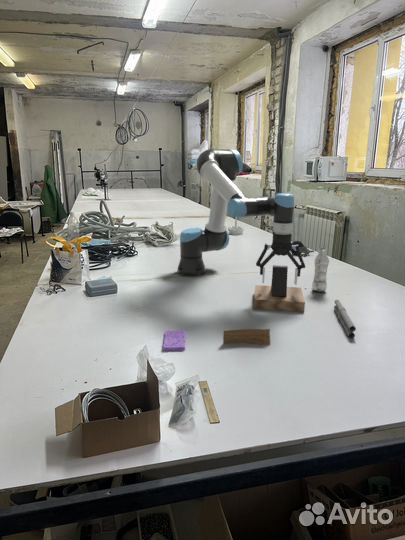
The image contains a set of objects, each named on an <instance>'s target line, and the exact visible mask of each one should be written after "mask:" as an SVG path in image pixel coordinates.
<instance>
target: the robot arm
mask: <svg viewBox="0 0 405 540" xmlns="http://www.w3.org/2000/svg"><path fill="white" fill-rule="evenodd" d="M195 166H196V171H197V173H198V174H199V176H200V177H201V178H202V179H204V180H207V182H209V184H210V185H211V186H212V188H213V190H212V195H211V196H212V197H211V202H210V203H211V205H210V209H209V210H210V211H209V218H208V222H207V223H206V224H205V225H204V229H202V228H201V227H190V228H186V229H183V230H182V231H180V233H179V235H180V237H179V242H180V243H179V247H180V248H179V250H180V254H179V255H180V259H179V262H178V265H177V268H176V269H177V274H178V275H180V276H186V277H195V276H197V277H198V276H201V275H204V274H205V273H206V266H205V263H204V260H203V253H207V252H214V251H221V250H225V249H226V248H227V247H228V245H229V242H230V234H229V231H228V227H227V226H226V225H225V224H226V217H227V212H228V215H229V217H231V218H234V219H235V218H236V217H237V219H240V218H250V217H261V216H269V217H273V224H272V225H273V226H272V232H273V233H272V242H271V244H268V243H264V247H263V250H262V252H261V253H260V256H259V257H258V258H257V261H256V262H255V266H256V267H259V274H260V276H262V284H265V276H266V275H265V273H266V272H265V271H266V264H267V263H269V262H270V261H271V259H273V257H275V256H277V257H278V256H284V257H285V256H287V257H288V258H289V259H290V260H291V262H292V263H293V264H294V265H295V268H294V269H295V272H294V280H293V281H294V285H296V286H297V284H298V277H301V270H302V269H305V268H306V264H305V262H304V260H303V257H302V255H301V254H300V252H299V246H298V245H291V243H292V236H293V234H292V233H293V225H294V224H293V223H294V220H293V219H294V210H295V196H294V194H292V193H283V192H282V193H276V194H275V195H274V197H273V196H267V195H266V196H265V195H263V196H259V197H247V196H246V195H245V194H244V193H243V192H242V191H241V190H240V189H239V188H238V186H236V184H234V182H235V181H236V177H237V175H240V174H241V172H242V171H243V167H244V163H243V157H242V155H241V153H240V152H239V151H238V150H237V149H231V148H228V149H223V148H222V149H212V148H209V149H205V150H204V151H202V152H201V153H200V154H199V156H198V157H197V160H196V165H195ZM270 248H271V250H272V251H271V252H270V253H269V255H267V257H266V258H265V259H264V257H265V255H266V253H267V251H268V250H270ZM292 248H293V249H294V250H295V251H296V253H297V255H296V256H297V257H298V260H299V262H300V263H299V262H298V261H297V260H296V258H295V257H294V256H293V254H292V253H291V252H290V250H291V249H292ZM263 259H264V260H263Z"/></svg>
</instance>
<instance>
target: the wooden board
mask: <svg viewBox="0 0 405 540" xmlns="http://www.w3.org/2000/svg"><path fill="white" fill-rule="evenodd" d="M253 298H254V299H253V309H254V310H255V309H256V310H271V311H272V310H273V311H284V312H285V311H287V312H302V313H304V312H305V307H306V306H305V305H306V301H305V297H304V293H303V290H302V287H299V286H298V287H297V286H296V287H295V286H287V297H276V296H272V293H271V285H259V284H255V289H254V297H253Z"/></svg>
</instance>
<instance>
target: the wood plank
mask: <svg viewBox="0 0 405 540" xmlns="http://www.w3.org/2000/svg"><path fill="white" fill-rule="evenodd" d="M270 333H271V329H270V328H267V329H266V328H265V329H261V328H259V329H257V328H244V329H243V328H242V329H230V330H223V338H222V340H223V343H222V344H227V345H228V344H251V345H253V344H255V345H265V346H270V345H271V334H270Z"/></svg>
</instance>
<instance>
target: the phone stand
mask: <svg viewBox="0 0 405 540" xmlns="http://www.w3.org/2000/svg"><path fill="white" fill-rule="evenodd" d="M288 269H289V267H288V265H275V264H274V265H272V274H271V275H272V276H271V285H270V286H271V293H272V296H276V297H287V287H288Z"/></svg>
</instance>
